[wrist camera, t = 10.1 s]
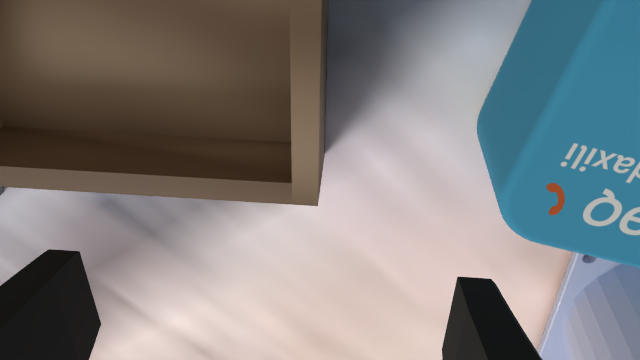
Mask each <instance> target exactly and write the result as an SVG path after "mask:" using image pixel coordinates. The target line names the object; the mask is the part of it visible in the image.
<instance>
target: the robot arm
mask: <svg viewBox="0 0 640 360" xmlns="http://www.w3.org/2000/svg"><path fill="white" fill-rule="evenodd" d="M584 255H585V254H581V253H576V252H573V253H572V256H571V259H570V261H569V264H568V267H567V270H566V272H565V275H564V278H563V281H562V283H561V286H560V289H559V292H558V295H557V297H556V300H555V303H554V306H553V308H552V311H551V314H550V317H549V319H548V322H547V325H546V328H545V330H544V333H543V336H542V339H541V341H540V344H539V347H538V350H537V351H536V349H535V348H534V346H533V345H532V343H531V342H530V340H529V339H528V337H527V335H526V334H525V332H524V331H523V329H522V327H521V326H520V324H519V323H518V321H517V319H516V318H515V316H514V314H513V313H512V311H511V310H510V308H509V306H508V304H507V303H506V301H505V299H504V298H503V296H502V294H501V292H500V291H499V289H498V287H497V285H496V284H495V283H494V282H493V281H492V279H484V278H469V277H458V278H457V282H456V287H455V291H454V296H453V301H452V305H451V310H450V315H449V319H448V324H447V329H446V333H445V338H444V343H443V347H442V356H443V360H640V268H637V267H633V266H629V265H625V264H621V263H617V262H613V261H609V260H605V259H601V258H597V257H593V256H584ZM100 326H101V322H100V319H99V316H98V312H97V309H96V305H95V302H94V299H93V295H92V292H91V289H90V285H89V282H88V279H87V275H86V272H85V269H84V265H83V262H82V259H81V255H80V252H79V251H65V250H50V249H49V250H47V251H46V252H44V253H43V254H42V255H40V256H39V257H38V258H36V259H35V260H34V261H32V262H31V263H30V264H28V265H27V266H26V267H24V268H23V269H22V270H20V271H19V272H18V273H17V274H15V275H14V276H13V277H11V278H10V279H9V280H8V281H6V282H5V283H4V284H2V285H1V286H0V360H89V357H90V355H91V352H92V349H93V346H94V343H95V340H96V337H97V334H98V331H99V328H100Z"/></svg>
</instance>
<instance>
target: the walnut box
mask: <svg viewBox="0 0 640 360" xmlns="http://www.w3.org/2000/svg"><path fill="white" fill-rule="evenodd" d="M328 2H329V0H0V187H15V188H32V189H48V190H64V191H81V192H97V193H114V194H130V195H146V196H163V197H179V198H196V199H212V200H228V201H245V202H261V203H277V204H294V205H310V206H318V200H319V192H320V185H321V177H322V170H323V162H324V155H325V116H326V78H327V40H328Z"/></svg>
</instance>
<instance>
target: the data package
mask: <svg viewBox="0 0 640 360" xmlns="http://www.w3.org/2000/svg"><path fill="white" fill-rule="evenodd" d="M477 134H478V138H479V142H480V145H481V149H482V152H483V155H484V159H485V162H486V165H487V169H488V172H489V175H490V179H491V182H492V185H493V189H494V192H495V195H496V199H497V202H498V205H499V209H500V212H501V214H502V217H503V219H504V220H505V222H506V223H507V225H508V226H509V227H510V228H511V229H512V230H513V231H514V232H516V233H517V234H518V235H520V236H522V237H523V238H525V239H528V240H530V241H533V242H536V243H540V244H544V245H548V246H552V247H556V248H560V249H564V250H568V251H572V252H576V253H581V254H585V255H589V256H593V257H597V258H601V259H605V260H609V261H613V262H617V263H621V264H625V265H629V266H633V267H637V268H640V0H532V1H531V3H530V5H529V8H528V10H527V12H526V14H525V16H524V18H523V20H522V23H521V25H520V27H519V29H518V31H517V33H516V35H515V38H514V40H513V42H512V44H511V46H510V48H509V51H508V53H507V55H506V57H505V59H504V61H503V63H502V66H501V68H500V70H499V72H498V74H497V76H496V78H495V81H494V83H493V85H492V87H491V89H490V91H489V93H488V96H487V98H486V100H485V102H484V104H483V106H482V109H481V111H480V114H479V117H478V121H477Z"/></svg>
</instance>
